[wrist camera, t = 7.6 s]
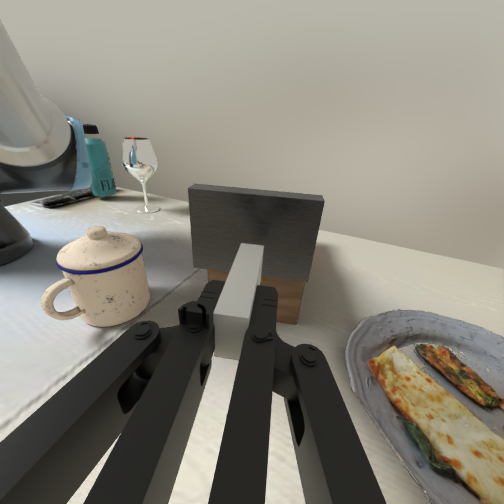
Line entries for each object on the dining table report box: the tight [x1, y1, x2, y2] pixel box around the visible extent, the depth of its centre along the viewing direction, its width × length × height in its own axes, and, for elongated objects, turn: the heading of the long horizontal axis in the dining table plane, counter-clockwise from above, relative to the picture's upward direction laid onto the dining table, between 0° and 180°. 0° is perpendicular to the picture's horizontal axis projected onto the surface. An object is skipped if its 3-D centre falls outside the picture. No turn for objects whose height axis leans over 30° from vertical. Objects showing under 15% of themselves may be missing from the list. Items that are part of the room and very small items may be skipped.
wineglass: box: [122, 138, 160, 213], centre depth 62 cm, size 8×8×18 cm
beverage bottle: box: [83, 124, 116, 196], centre depth 68 cm, size 6×7×20 cm
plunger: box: [188, 184, 324, 282], centre depth 24 cm, size 10×10×9 cm
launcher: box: [208, 269, 305, 324], centre depth 36 cm, size 14×12×10 cm
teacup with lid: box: [41, 226, 150, 327], centre depth 29 cm, size 12×9×12 cm
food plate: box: [345, 309, 504, 504], centre depth 23 cm, size 25×23×4 cm
